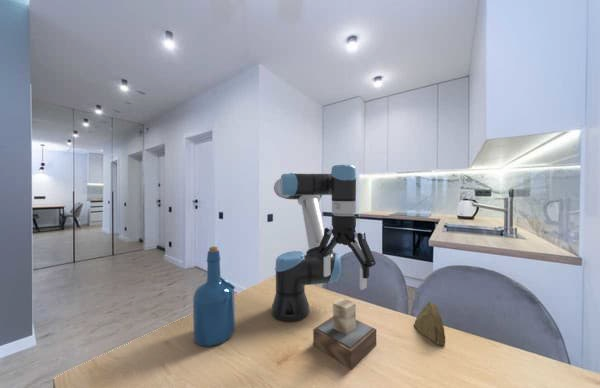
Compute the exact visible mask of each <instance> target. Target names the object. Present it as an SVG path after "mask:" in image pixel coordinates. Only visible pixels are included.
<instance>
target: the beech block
mask: <svg viewBox="0 0 600 388" xmlns="http://www.w3.org/2000/svg"><path fill="white" fill-rule="evenodd" d="M356 306H357V305H356V302H355V301H351V300H349V299H347V298H344V297H341V298H340V299H338V300H335V301H334V302H333V303H332V317H333V328H334V329H336V330H338V331H339V332H341V333H343V334H345V335H348V334H349V333H350V332H352V331H353V330H354V329H355V328H356V320H357V318H356V317H357V316H356V310H357V309H356Z"/></svg>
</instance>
